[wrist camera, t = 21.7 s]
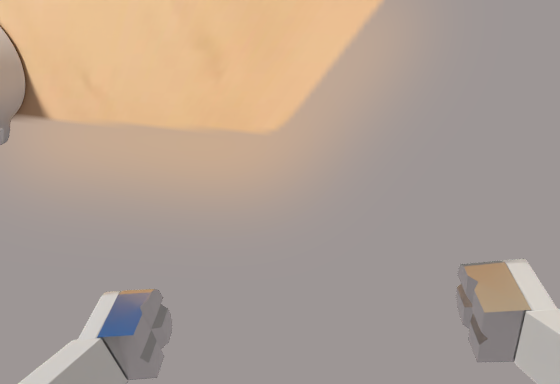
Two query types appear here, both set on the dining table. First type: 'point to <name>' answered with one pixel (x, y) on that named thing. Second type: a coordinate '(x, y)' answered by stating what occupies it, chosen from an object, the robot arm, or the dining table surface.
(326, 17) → the dining table surface
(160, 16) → the dining table surface
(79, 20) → the dining table surface
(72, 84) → the dining table surface
